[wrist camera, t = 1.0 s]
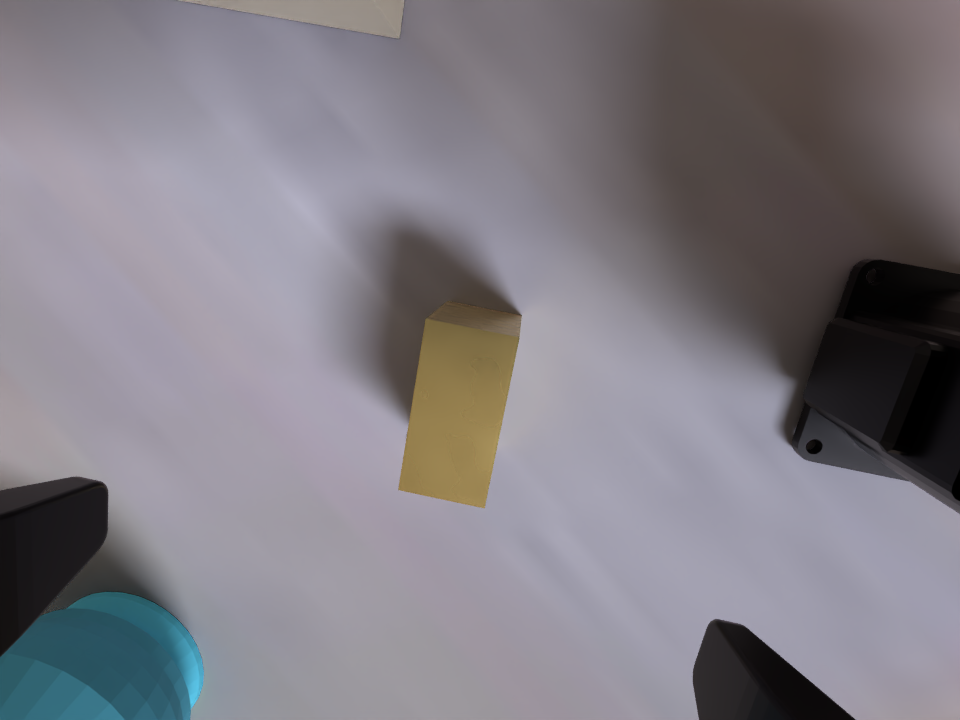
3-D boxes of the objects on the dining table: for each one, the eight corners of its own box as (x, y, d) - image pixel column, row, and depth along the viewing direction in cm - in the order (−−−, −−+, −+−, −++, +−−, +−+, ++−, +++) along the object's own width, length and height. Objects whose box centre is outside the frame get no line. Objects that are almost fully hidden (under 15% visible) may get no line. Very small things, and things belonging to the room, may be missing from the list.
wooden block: (521, 315, 18) (519, 337, 14) (493, 452, 19) (484, 508, 15) (448, 300, 18) (425, 318, 14) (424, 438, 19) (398, 489, 15)
